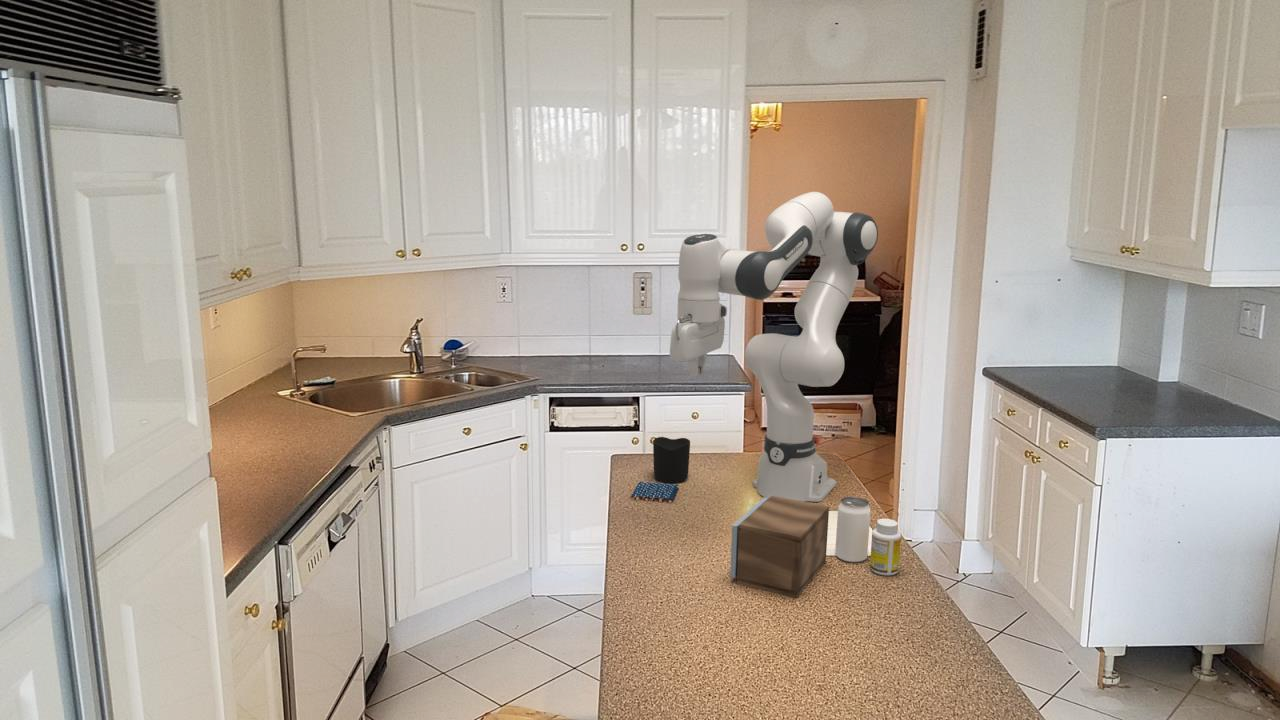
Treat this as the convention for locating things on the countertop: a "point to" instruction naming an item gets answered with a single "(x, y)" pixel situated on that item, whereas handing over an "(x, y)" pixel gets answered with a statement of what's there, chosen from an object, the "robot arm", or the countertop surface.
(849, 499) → the can
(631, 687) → the countertop surface
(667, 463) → the pen holder
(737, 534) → the flap
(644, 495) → the woven mat
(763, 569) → the crate
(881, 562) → the supplement bottle
